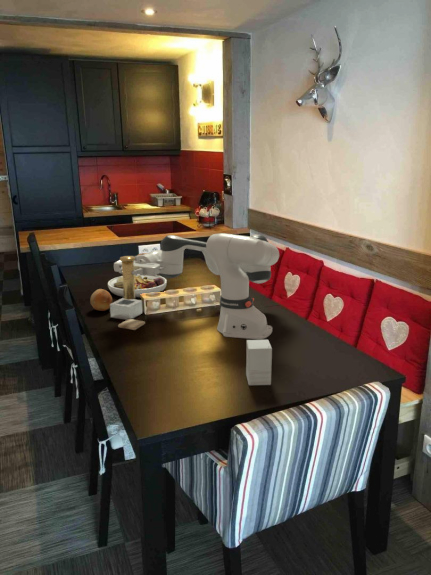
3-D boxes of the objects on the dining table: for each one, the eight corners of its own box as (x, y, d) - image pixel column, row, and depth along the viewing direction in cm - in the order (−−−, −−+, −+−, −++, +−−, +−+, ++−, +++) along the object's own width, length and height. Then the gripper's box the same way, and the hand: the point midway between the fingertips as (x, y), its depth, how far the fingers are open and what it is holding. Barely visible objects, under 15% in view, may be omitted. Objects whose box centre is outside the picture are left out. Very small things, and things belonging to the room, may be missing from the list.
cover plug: (139, 296, 201) (137, 256, 196) (131, 300, 195) (129, 259, 191) (127, 295, 203) (125, 255, 198) (119, 299, 198) (116, 258, 193)
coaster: (145, 323, 204) (145, 321, 204) (134, 330, 197) (134, 327, 197) (128, 321, 207) (128, 318, 207) (118, 327, 200) (118, 324, 200)
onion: (86, 312, 219) (84, 290, 216) (100, 305, 227) (99, 285, 224) (103, 315, 214) (101, 293, 211) (117, 308, 223) (116, 288, 220)
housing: (142, 313, 217) (141, 300, 215) (130, 320, 208) (129, 307, 206) (123, 310, 221) (122, 297, 219) (110, 317, 212) (109, 304, 210)
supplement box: (267, 374, 159) (269, 339, 155) (271, 385, 152) (272, 348, 148) (245, 375, 159) (246, 339, 155) (247, 385, 152) (248, 348, 148)
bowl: (98, 297, 241) (97, 282, 239) (123, 281, 269) (122, 267, 267) (154, 301, 234) (154, 286, 232) (174, 284, 262) (174, 270, 260)
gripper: (166, 274, 204) (149, 282, 192) (125, 269, 212) (106, 277, 200) (165, 260, 203) (148, 267, 190) (124, 255, 210) (105, 262, 198)
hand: (126, 272), depth 195 cm, fingers closed on cover plug, 5 cm apart
